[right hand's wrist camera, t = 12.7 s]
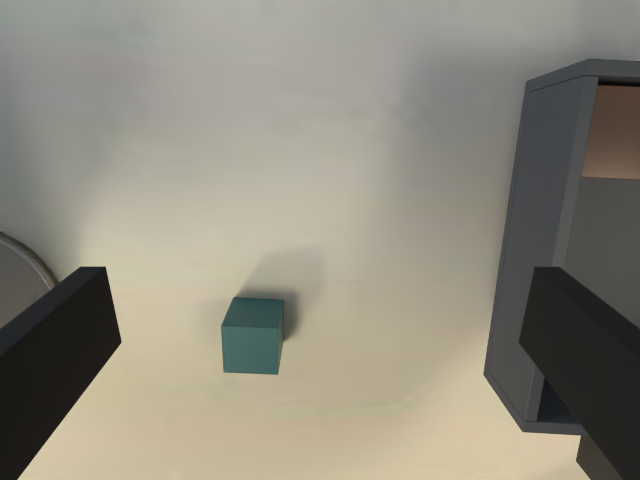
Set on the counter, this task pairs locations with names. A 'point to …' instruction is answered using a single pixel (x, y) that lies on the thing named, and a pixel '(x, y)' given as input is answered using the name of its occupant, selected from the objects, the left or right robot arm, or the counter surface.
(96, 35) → the counter surface
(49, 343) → the right robot arm
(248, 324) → the teal cube
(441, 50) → the counter surface
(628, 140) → the walnut cube
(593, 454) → the bin
